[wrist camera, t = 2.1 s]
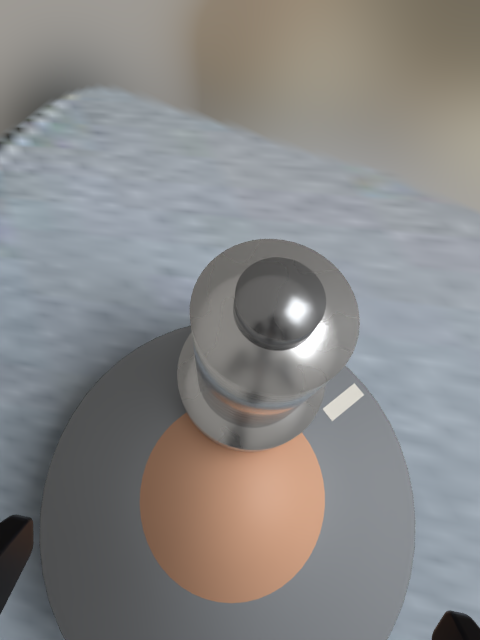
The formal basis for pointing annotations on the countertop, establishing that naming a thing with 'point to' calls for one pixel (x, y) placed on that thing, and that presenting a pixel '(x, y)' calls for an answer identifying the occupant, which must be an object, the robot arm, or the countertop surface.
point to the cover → (264, 343)
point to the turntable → (223, 518)
